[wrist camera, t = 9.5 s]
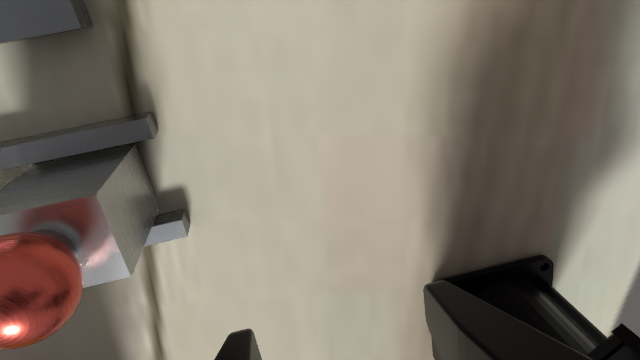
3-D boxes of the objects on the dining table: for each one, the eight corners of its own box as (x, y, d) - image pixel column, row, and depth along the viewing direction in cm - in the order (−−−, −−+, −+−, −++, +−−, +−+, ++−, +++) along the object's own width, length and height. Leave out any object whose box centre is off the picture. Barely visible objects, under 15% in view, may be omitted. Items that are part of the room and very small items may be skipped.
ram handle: (135, 143, 17) (47, 255, 10) (159, 208, 18) (99, 353, 11) (33, 164, 17) (-141, 298, 9) (64, 229, 18) (-67, 394, 10)
